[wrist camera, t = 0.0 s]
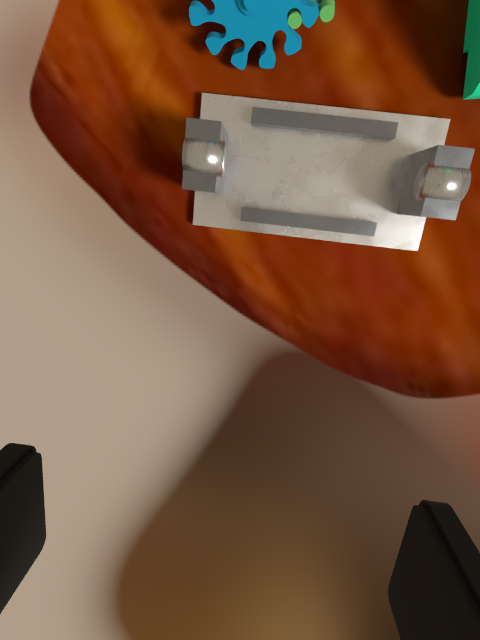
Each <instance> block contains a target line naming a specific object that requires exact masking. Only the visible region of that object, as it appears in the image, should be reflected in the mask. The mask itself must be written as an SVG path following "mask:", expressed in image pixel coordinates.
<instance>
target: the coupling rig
mask: <svg viewBox="0 0 480 640" xmlns="http://www.w3.org/2000/svg"><path fill="white" fill-rule="evenodd" d="M449 123H450V119H444V118H435V117H425V116H416V115H406V114H397V113H388V112H378V111H369V110H359V109H350V108H341V107H331V106H322V105H312V104H303V103H294V102H284V101H275V100H265V99H256V98H246V97H237V96H228V95H218V94H209V93H202V100H201V114H200V119H196V118H187V117H186V131H185V139H184V142H183V149H182V167H183V181H182V189H186V190H191V191H195V199H194V214H193V225H200V226H209V227H217V228H226V229H234V230H243V231H251V232H260V233H268V234H277V235H285V236H293V237H302V238H310V239H319V240H327V241H336V242H344V243H353V244H361V245H370V246H378V247H387V248H395V249H404V250H412V251H418V248H419V244H420V240H421V236H422V232H423V228H424V224H425V220H426V218H436V219H447V220H456V217H457V213H458V209H459V206H460V202H461V201H462V200H463V198H464V197H465V195H466V193H467V191H468V189H469V186H470V182H471V171H470V165H471V161H472V158H473V154H474V150H475V149H472V148H463V147H454V146H445V145H444V143H445V139H446V135H447V131H448V127H449Z"/></svg>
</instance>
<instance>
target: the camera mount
mask: <svg viewBox="0 0 480 640" xmlns="http://www.w3.org/2000/svg"><path fill="white" fill-rule="evenodd" d="M463 53H468V58H467V67H466V76H465V84H464V93H463V100H465V99H480V0H469V4H468V13H467V21H466V30H465V39H464V48H463Z"/></svg>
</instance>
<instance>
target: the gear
mask: <svg viewBox="0 0 480 640" xmlns="http://www.w3.org/2000/svg"><path fill="white" fill-rule="evenodd" d="M212 1H213V3H214V5H215V9H213V10H208V9H207V8H206V7H205V6H204V5H203V4H202V3H201V2H199V1H192V2H191V5H190V7H189V17H190V22H191V24H192V25H193V26H199V25H201V24H202V23H205V22H216V23H220V24H222V25H224V27H225V28H226V32H225V33H218V32H210V33H209V34H208V36H207V38H206V41H205V42H206V45H207V47H208V49H209V50H210V52H211V53H212V54H213V55H216V54H218V53H219V52H220V50H221V48H222V47H223V45H225V44H226V43H227V42H228V41H231V40H233V39H237V38H239V39H242V40H243V41H244V44H245V45H244V46H243V47H241V48H237V49H235V50H234V51H233V54H232V58H231V63H232V64H233V65H234V66H235V67H237V68H239V69H241V70H243V69H244V68H245V67H246V63H247V59H248V52H249V50H250V49H251V47H252V46H253V45H254V44H255V43H256V42H257V41H263V42H264V43H265V44H266V48H265V49H264V50H263V51H262V52H261V54H260V59H259V66H260V67H261V68H265V69H269V68H273V67H274V65H275V59H276V56H275V53H274V50H273V45H272V40H273V36H274V34H275V32H276V31H278V30H282V31H284V32H285V33H286V40H285V46H284V49H285V52H286V54H287V55H292V54H294V53H296V52H297V51H299V50H300V49H301V44H302V39H301V36H300V35H299V34H298V33H296V32H295V31H294V29H296V28H298V27H299V26H300V25H301V23H302V22H303V24H304V25H305V26H306V27H311V26H312V25H313V24H314V23H315V21H316V19H317V17H318V16H319V15H320V18H321V20H322V21H323V22H329V21H331V20H332V18H333V17H334V11H335V2H334V0H212ZM288 12H289V16H288Z"/></svg>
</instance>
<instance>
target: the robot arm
mask: <svg viewBox="0 0 480 640" xmlns="http://www.w3.org/2000/svg"><path fill="white" fill-rule="evenodd" d="M45 527H46V525H45V508H44V490H43V473H42V457H41V454H40V453H37V452H36V449H35V447H34V446H30V445H23V444H15V443H9V444H7V445H6V446H5V447H3V448H2V449H1V450H0V614H1V612H2V610H3V609H4V607H5V606H6V604H7V603H8V601H9V600H10V598H11V597H12V595H13V593H14V592H15V590H16V589H17V587H18V586H19V584H20V583H21V581H22V580H23V578H24V576H25V575H26V574H27V572H28V571H29V569H30V567H31V566H32V564H33V563H34V561H35V560H36V558H37V557H38V555H39V554H40V552H41V550H42V548H43V546H44V543H45V539H46V528H45ZM388 596H389V602H390V606H391V609H392V612H393V616H394V618H395V622H396V625H397V629H398V632H399V635H400V638H401V640H480V553H479V551H478V549H477V548H476V546H475V545H474V543H473V541H472V540H471V538H470V536H469V535H468V533H467V531H466V530H465V528H464V527H463V525H462V523H461V522H460V520H459V518H458V517H457V515H456V513H455V512H454V510H453V508H452V507H451V506H450V505H449V504H447V503H441V502H434V501H427V500H422V501H421V502H420V504H419V506H417V505H415V506H413V508H412V511H411V514H410V517H409V520H408V524H407V527H406V530H405V534H404V537H403V540H402V544H401V547H400V550H399V553H398V557H397V560H396V563H395V567H394V570H393V573H392V576H391V580H390V583H389V588H388Z"/></svg>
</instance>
